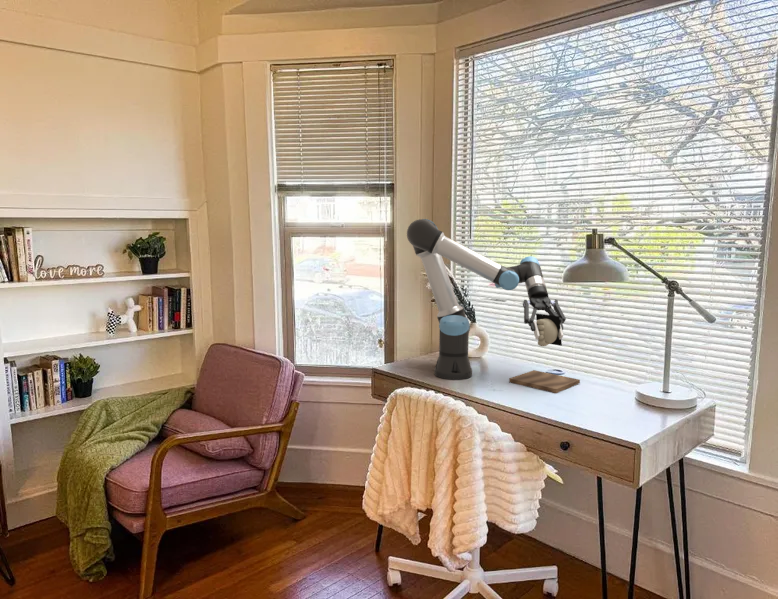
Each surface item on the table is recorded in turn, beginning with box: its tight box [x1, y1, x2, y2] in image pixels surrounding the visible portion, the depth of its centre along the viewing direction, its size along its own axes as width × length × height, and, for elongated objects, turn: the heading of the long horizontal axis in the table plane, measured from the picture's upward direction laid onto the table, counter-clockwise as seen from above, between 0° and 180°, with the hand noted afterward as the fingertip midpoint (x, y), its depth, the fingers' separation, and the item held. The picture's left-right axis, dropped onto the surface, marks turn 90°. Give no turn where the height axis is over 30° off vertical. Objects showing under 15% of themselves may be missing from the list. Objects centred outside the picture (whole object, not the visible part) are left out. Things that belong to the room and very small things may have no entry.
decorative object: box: [535, 313, 563, 347], centre depth 221 cm, size 12×10×10 cm
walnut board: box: [508, 369, 581, 394], centre depth 224 cm, size 20×18×2 cm
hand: (549, 337), depth 218 cm, fingers closed on decorative object, 8 cm apart
